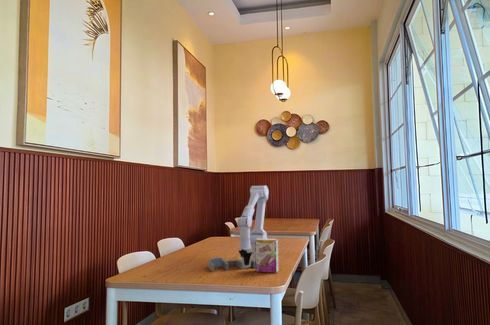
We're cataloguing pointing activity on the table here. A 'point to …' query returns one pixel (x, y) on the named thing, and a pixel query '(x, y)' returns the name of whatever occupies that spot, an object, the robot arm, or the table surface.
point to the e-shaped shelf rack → (226, 263)
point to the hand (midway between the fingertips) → (245, 264)
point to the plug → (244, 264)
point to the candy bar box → (266, 255)
